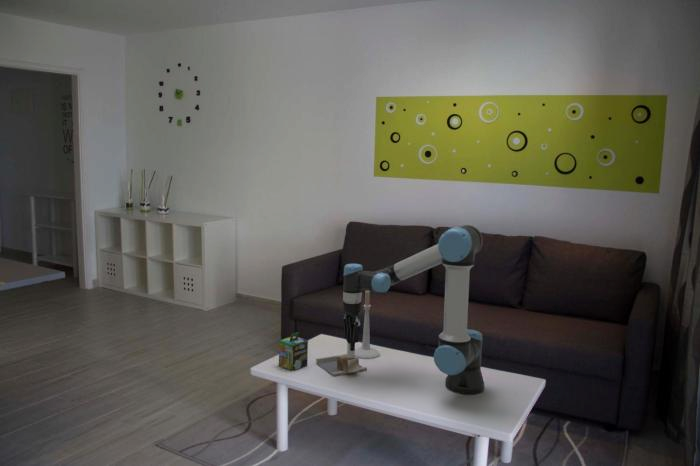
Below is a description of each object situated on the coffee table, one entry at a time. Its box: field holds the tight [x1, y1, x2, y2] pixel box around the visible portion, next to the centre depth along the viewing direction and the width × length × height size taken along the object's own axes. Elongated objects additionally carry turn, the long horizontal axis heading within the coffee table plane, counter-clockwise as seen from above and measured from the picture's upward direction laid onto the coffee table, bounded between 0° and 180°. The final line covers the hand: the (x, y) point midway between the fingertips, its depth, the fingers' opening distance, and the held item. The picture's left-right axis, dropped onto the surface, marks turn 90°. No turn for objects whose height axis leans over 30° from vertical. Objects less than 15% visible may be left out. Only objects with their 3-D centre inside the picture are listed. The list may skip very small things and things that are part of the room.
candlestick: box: [355, 290, 381, 360], centre depth 261 cm, size 13×13×30 cm
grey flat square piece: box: [315, 353, 368, 377], centre depth 246 cm, size 16×16×2 cm
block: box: [337, 354, 360, 374], centre depth 240 cm, size 5×5×10 cm
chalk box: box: [278, 331, 309, 372], centre depth 245 cm, size 9×9×15 cm
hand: (350, 357), depth 238 cm, fingers closed
